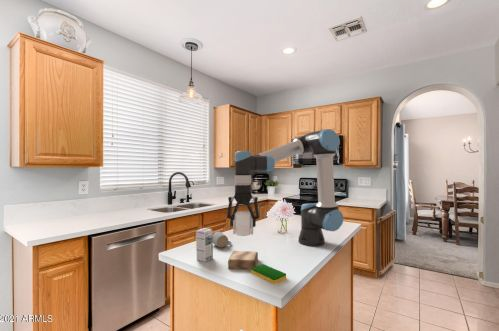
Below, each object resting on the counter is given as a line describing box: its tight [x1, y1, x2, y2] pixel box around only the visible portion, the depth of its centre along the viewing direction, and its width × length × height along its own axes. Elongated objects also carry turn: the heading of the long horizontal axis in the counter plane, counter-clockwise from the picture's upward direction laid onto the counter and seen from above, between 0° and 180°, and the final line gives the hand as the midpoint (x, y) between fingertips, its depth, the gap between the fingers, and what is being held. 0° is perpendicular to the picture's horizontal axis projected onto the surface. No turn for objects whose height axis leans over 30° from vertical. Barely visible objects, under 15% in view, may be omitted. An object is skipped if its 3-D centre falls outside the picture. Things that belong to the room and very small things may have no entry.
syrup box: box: [195, 227, 214, 263], centre depth 121 cm, size 6×6×14 cm
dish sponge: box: [250, 263, 287, 285], centre depth 102 cm, size 7×14×2 cm, turn 41°
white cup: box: [234, 210, 252, 237], centre depth 114 cm, size 8×8×10 cm
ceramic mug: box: [212, 230, 232, 249], centre depth 141 cm, size 11×8×8 cm
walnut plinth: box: [227, 250, 259, 271], centre depth 114 cm, size 12×12×4 cm
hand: (243, 233), depth 114 cm, fingers closed on white cup, 8 cm apart
